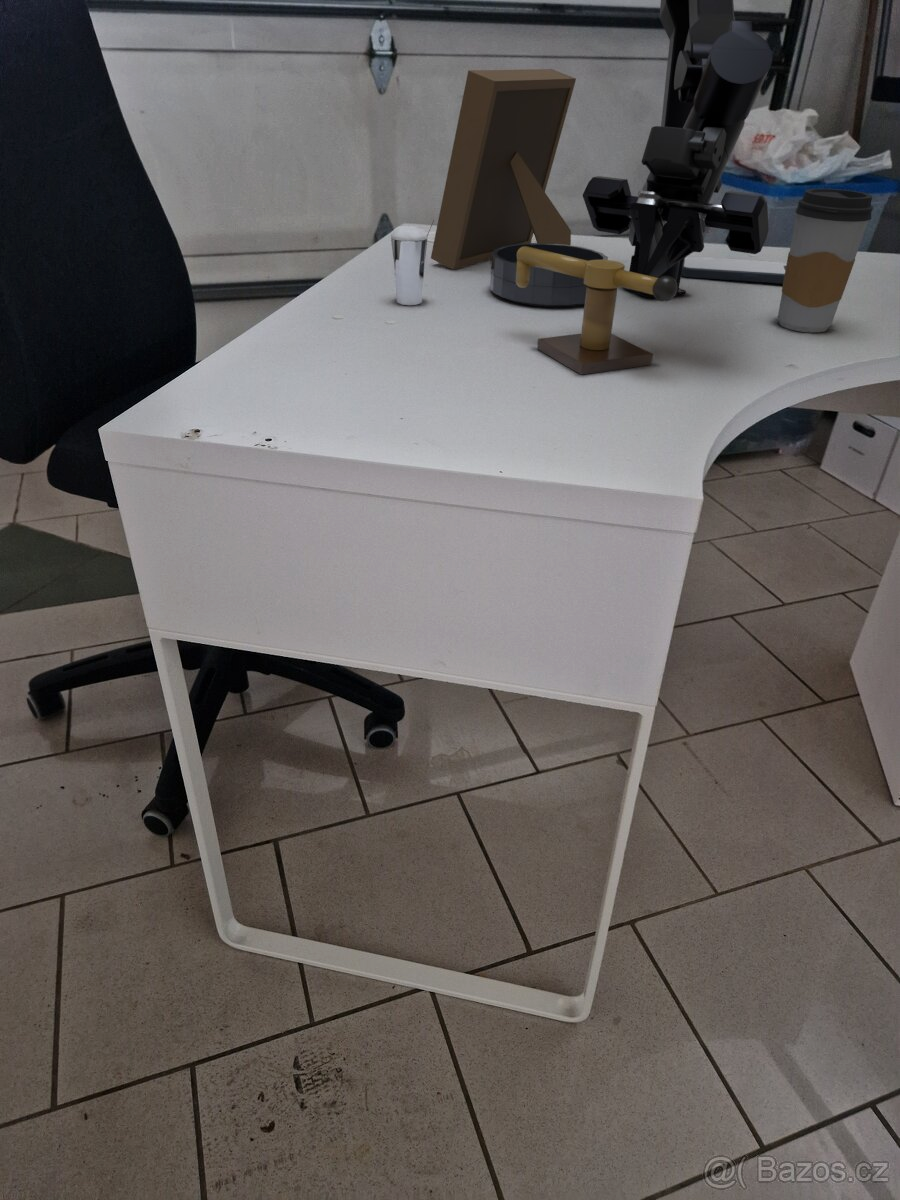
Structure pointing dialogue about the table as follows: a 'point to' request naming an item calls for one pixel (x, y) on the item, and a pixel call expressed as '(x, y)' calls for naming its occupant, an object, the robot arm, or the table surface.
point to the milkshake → (409, 263)
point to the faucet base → (594, 357)
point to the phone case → (734, 269)
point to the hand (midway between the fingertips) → (641, 284)
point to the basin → (540, 277)
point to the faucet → (593, 273)
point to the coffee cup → (822, 256)
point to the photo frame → (503, 165)
